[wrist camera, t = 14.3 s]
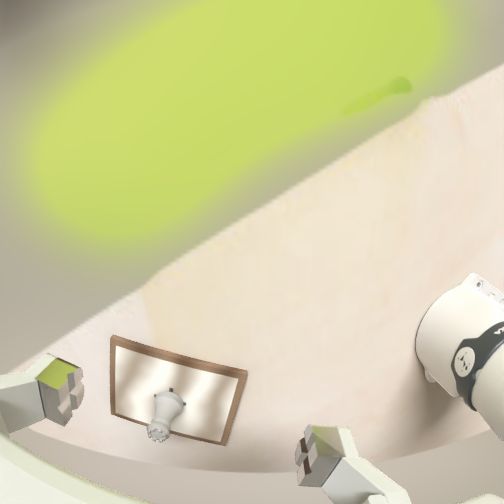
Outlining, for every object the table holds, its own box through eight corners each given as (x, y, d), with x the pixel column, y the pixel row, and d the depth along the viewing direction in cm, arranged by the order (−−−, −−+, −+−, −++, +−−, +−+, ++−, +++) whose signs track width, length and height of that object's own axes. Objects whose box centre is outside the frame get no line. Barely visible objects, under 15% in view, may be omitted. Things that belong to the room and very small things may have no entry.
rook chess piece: (152, 389, 41) (136, 423, 34) (180, 389, 41) (167, 425, 33) (160, 410, 42) (146, 445, 34) (187, 411, 42) (176, 447, 34)
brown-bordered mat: (247, 370, 42) (247, 375, 40) (225, 441, 45) (225, 447, 44) (113, 334, 41) (109, 338, 40) (113, 410, 44) (110, 414, 43)
